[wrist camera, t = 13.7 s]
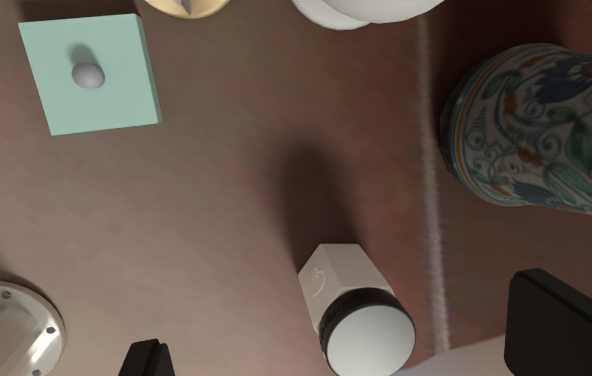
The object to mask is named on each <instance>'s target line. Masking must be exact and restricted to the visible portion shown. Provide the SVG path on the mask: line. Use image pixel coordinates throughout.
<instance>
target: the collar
mask: <svg viewBox="0 0 592 376" xmlns="http://www.w3.org/2000/svg"><path fill="white" fill-rule="evenodd" d="M172 1H173V2H174V3H176V4H177V5H178V6H179V7H180V8H182V9H183V10H184V11H185V12H186V13H188V14H189V15H191V13H192V12H193V10H194V9H195V8H196V6H197V5H198V3H199V2H200V1H201V0H172Z"/></svg>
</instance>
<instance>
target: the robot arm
mask: <svg viewBox="0 0 592 376" xmlns="http://www.w3.org/2000/svg"><path fill="white" fill-rule="evenodd" d="M64 344H65V329H64V326H63V322H62V320H61V318H60V316H59V314H58V312H57V311H56V310H55V309H54V307H53V306H52V305H51V304H50V303H49V302H48V301H47V300H45V299H44V298H43V297H42V296H41V295H39V294H37V293H36V292H34V291H32V290H30V289H28V288H26V287H23V286H20V285H18V284H14V283H9V282H5V281H0V376H45V375H46V374H47V373H48V372H49V371H50V370H51V369H52V368H53V366H54V365H55V363H56V362H57V360H58V359H59V357H60V355H61V353H62V351H63V348H64ZM504 360H505V363H506V365H507V367H508V368H509V370H510V371H511V372H512V373H513V374H514V375H515V376H592V299H591V298H589V297H588V296H586V295H584V294H583V293H581V292H579V291H578V290H576V289H574V288H573V287H571V286H569V285H568V284H566V283H564V282H563V281H561V280H559V279H558V278H556V277H554V276H553V275H551V274H549V273H548V272H546V271H544V270H543V269H540V268H533V269H528V270H523V271H518V272H516V273H515V275H514V278H512V279H511V280H510V287H509V299H508V312H507V324H506V336H505V349H504ZM118 376H175V373H174V369H173V365H172V361H171V357H170V353H169V349H168V346H167V344H166V343H163V344H160V343H159V341H158V339H151V340H146V341H140V342H135V343H133V344H131V346H130V348H129V351H128V353H127V355H126V358H125V360H124V363H123V365H122V367H121V370H120V372H119V375H118Z"/></svg>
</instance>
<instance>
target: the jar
mask: <svg viewBox="0 0 592 376" xmlns="http://www.w3.org/2000/svg"><path fill="white" fill-rule="evenodd" d="M298 279H299V282H300V285H301V288H302V292H303V295H304V298H305V301H306V305H307V308H308V311H309V314H310V318H311V321H312V324H313V327H314V329H315V331H316V333H317V334H318V336H319V339H320V344H321V349H322V352H323V355H324V357H325V359H326V361H327V363H328V365H329V367H330V368H331V370H332V371H333V372H334V373H335V374H336V375H337V376H391V375H392V374H394V373H395V372H397V371H398V370H399V369H400V368H401V367H402V366H403V365H404V364H405V363H406V362H407V361H408V359H409V358H410V356H411V354H412V352H413V350H414V347H415V342H416V329H415V325H414V322H413V320H412V318H411V317H410V315H409V314H408V313H407V311H406V310H405V309H404V307H403V306H402V305H401V303H400V302H399V301H398V299H397V298H396V297H395V295H394V292H393V290H392V288H391V286H390V285H389V284H388V282H387V281H386V280H385V278H384V277H383V276H382V274H381V273H380V272H379V270H378V269H377V268H376V266H375V265H374V264H373V263H372V261H371V260H370V259H369V257H368V256H367V255H366V253H365V252H364V251H363V249H362V248H361V247H360V245H359V244H319V246H318V247H317V248H316V250H315V251H314V253H313V254H312V255H311V257H310V258H309V260H308V261H307V263H306V264H305V265H304V267H303V268H302V270H301V271H300V272H299V274H298Z"/></svg>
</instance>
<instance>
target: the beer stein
mask: <svg viewBox="0 0 592 376" xmlns="http://www.w3.org/2000/svg"><path fill="white" fill-rule="evenodd" d="M439 147H440V150H441V153H442V155H443V158H444V161H445V164H446V166H447V169H448V172H449V173H450V174H452V175H453V176H454V177H455V178H456V179H457V180H458V181H459V182H460V183H461V184H462V185H464V186H465V187H466V188H467V189H468V190H469V191H471V192H472V193H474V194H475V195H476V196H478V197H479V198H481V199H483V200H485V201H487V202H490V203H494V204H497V205H502V206H523V205H537V206H545V207H551V208H557V209H563V210H567V211H574V212H579V213H583V214H588V215H592V54H588V53H582V52H575V51H571V50H568V49H566V48H564V47H561V46H558V45H555V44H549V43H532V44H524V45H519V46H516V47H513V48H510V49H508V50H505V51H503V52H501V53H499V54H497V55H494V56H492V57H490V58H488V59H485V60H483V61H481V62H480V63H478V64H477V65H476V66H474V67H473V68H472V69H470V70H469V71H468V72H467V73H466V74H465V75H464V77H463V78H462V79H461V80H460V82H459V83H458V84H457V85H456V86H455V88H454V89H453V90H452V91H451V92H450V95H449V97H448V99H447V102H446V104H445V106H444V109H443V111H442V113H441V116H440V132H439Z"/></svg>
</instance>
